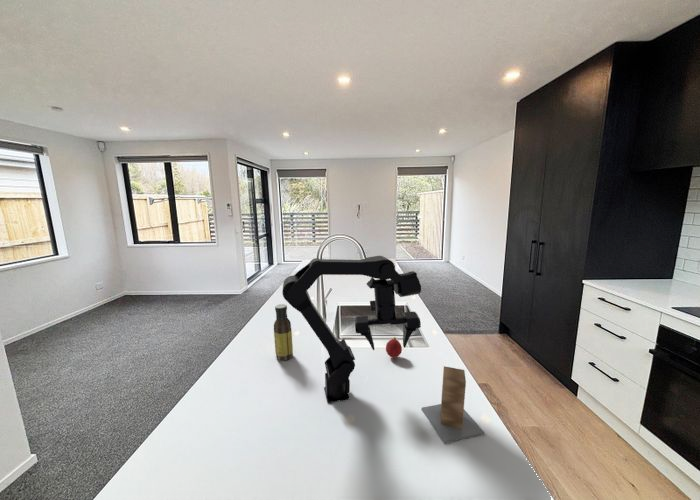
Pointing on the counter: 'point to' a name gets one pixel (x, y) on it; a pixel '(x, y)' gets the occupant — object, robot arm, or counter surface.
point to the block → (453, 397)
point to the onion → (393, 348)
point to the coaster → (451, 433)
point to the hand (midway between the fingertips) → (388, 348)
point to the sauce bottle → (282, 334)
